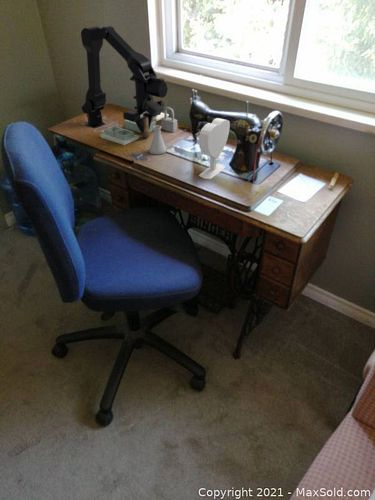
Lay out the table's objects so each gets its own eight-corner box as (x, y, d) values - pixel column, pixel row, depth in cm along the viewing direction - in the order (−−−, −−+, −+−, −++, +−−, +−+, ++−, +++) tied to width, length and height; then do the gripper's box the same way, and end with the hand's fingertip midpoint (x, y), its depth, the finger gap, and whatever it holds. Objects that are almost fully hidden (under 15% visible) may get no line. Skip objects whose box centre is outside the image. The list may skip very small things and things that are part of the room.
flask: (168, 148, 153) (167, 123, 147) (165, 155, 147) (165, 130, 141) (150, 147, 153) (149, 123, 147) (147, 154, 148) (146, 129, 142)
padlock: (178, 130, 168) (178, 107, 162) (172, 133, 166) (172, 110, 160) (166, 126, 172) (165, 104, 165) (160, 129, 169) (159, 106, 163)
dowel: (140, 136, 160) (138, 117, 155) (145, 134, 162) (143, 115, 157) (145, 138, 158) (144, 119, 153) (150, 136, 160) (149, 117, 155)
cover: (136, 115, 172) (135, 109, 171) (148, 110, 178) (148, 104, 176) (156, 121, 167) (156, 114, 165) (168, 116, 172) (168, 109, 170)
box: (125, 128, 170) (124, 120, 167) (137, 123, 175) (136, 115, 172) (144, 134, 164) (144, 126, 162) (156, 129, 169) (156, 121, 167)
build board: (100, 137, 161) (99, 129, 159) (115, 131, 167) (114, 123, 165) (124, 145, 155) (123, 137, 153) (138, 138, 160) (138, 131, 158)
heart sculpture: (216, 161, 143) (219, 114, 132) (228, 164, 141) (232, 117, 130) (195, 177, 133) (197, 127, 122) (208, 181, 131) (210, 130, 120)
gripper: (142, 103, 140) (144, 143, 149) (173, 91, 151) (173, 129, 161) (120, 97, 145) (124, 136, 154) (152, 86, 156) (153, 123, 166)
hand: (145, 131), depth 159 cm, fingers closed on dowel, 3 cm apart
